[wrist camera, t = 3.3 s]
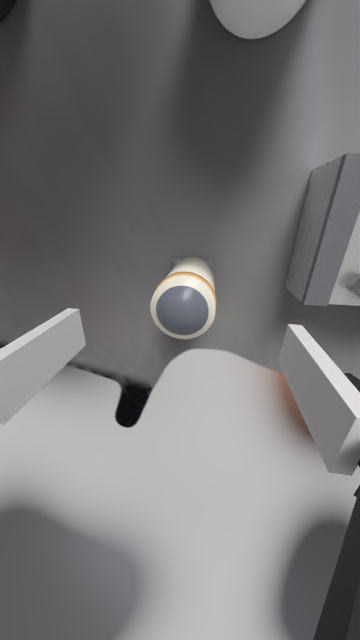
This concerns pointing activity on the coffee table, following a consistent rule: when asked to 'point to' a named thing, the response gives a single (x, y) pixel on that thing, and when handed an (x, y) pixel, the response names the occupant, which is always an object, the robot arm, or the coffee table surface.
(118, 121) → the coffee table surface
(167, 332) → the cream flashlight
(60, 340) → the robot arm
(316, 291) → the cradle fixture plate
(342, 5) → the coffee table surface
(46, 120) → the coffee table surface
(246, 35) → the candle holder
